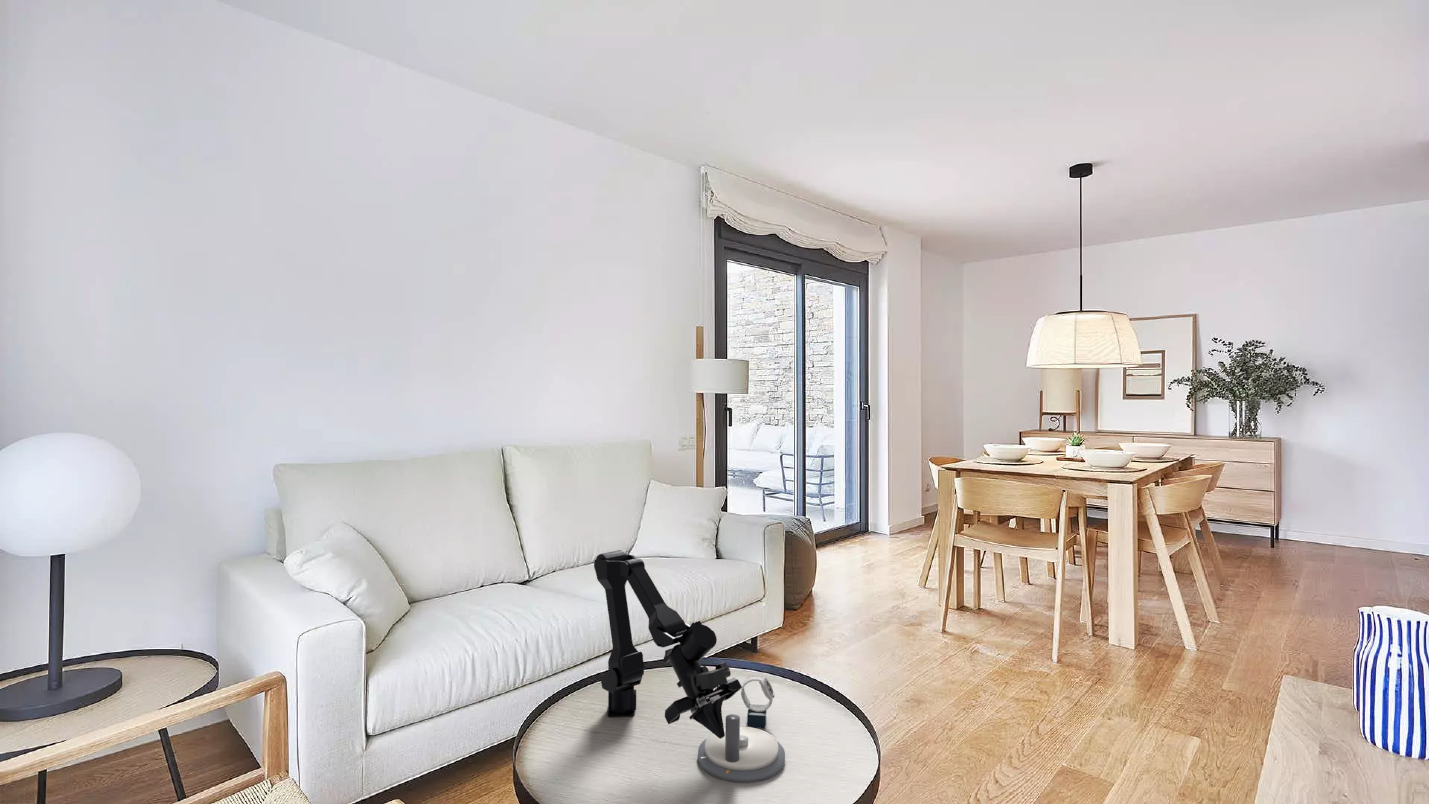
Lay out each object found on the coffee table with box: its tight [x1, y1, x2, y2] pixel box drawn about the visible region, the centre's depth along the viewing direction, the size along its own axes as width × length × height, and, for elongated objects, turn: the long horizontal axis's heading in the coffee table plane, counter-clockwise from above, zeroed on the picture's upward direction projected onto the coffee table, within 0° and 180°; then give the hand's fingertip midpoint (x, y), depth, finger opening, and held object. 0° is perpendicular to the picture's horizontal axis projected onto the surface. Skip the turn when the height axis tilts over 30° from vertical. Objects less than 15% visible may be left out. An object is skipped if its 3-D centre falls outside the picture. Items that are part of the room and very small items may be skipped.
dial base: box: [697, 738, 786, 784], centre depth 161 cm, size 19×19×2 cm
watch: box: [740, 675, 775, 730], centre depth 177 cm, size 6×8×11 cm
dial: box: [705, 714, 778, 771], centre depth 160 cm, size 16×16×10 cm
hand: (722, 737), depth 156 cm, fingers closed
